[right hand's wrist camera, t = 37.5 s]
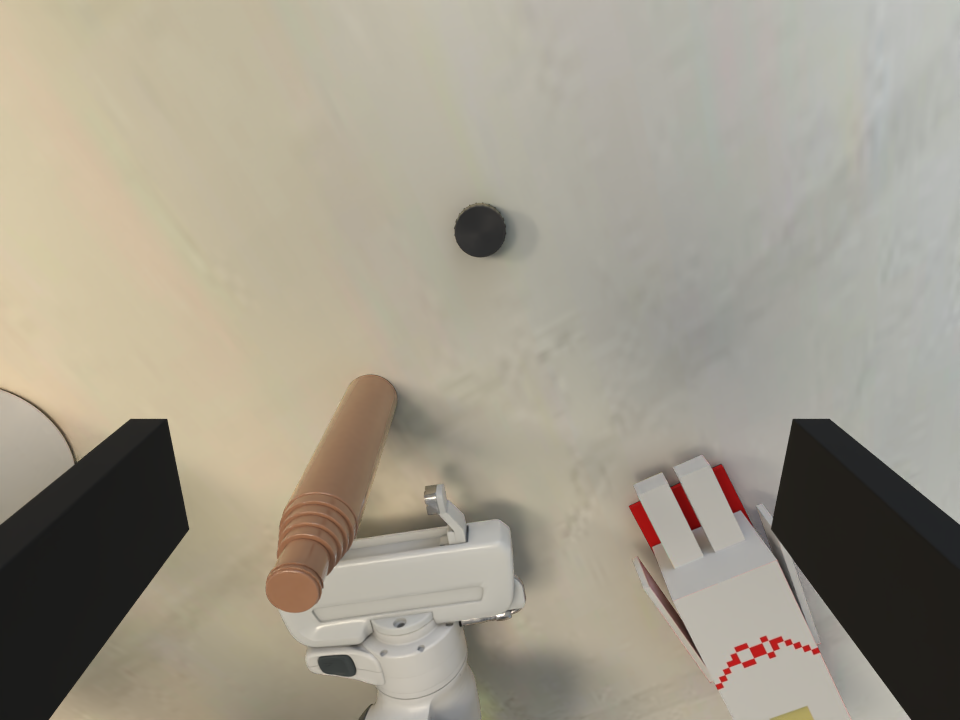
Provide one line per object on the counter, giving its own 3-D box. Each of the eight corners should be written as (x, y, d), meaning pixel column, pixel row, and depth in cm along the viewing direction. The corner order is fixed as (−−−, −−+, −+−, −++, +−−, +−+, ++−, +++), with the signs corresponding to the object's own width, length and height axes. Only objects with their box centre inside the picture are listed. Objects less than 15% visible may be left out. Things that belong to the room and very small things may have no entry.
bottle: (408, 399, 53) (355, 594, 30) (372, 430, 54) (295, 641, 31) (371, 364, 51) (287, 540, 29) (335, 396, 52) (228, 590, 30)
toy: (764, 474, 44) (904, 780, 49) (709, 415, 57) (824, 662, 62) (611, 538, 46) (761, 826, 51) (592, 467, 59) (713, 702, 64)
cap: (469, 193, 46) (469, 195, 45) (514, 217, 47) (515, 221, 45) (446, 238, 48) (445, 242, 46) (490, 262, 48) (490, 266, 47)
